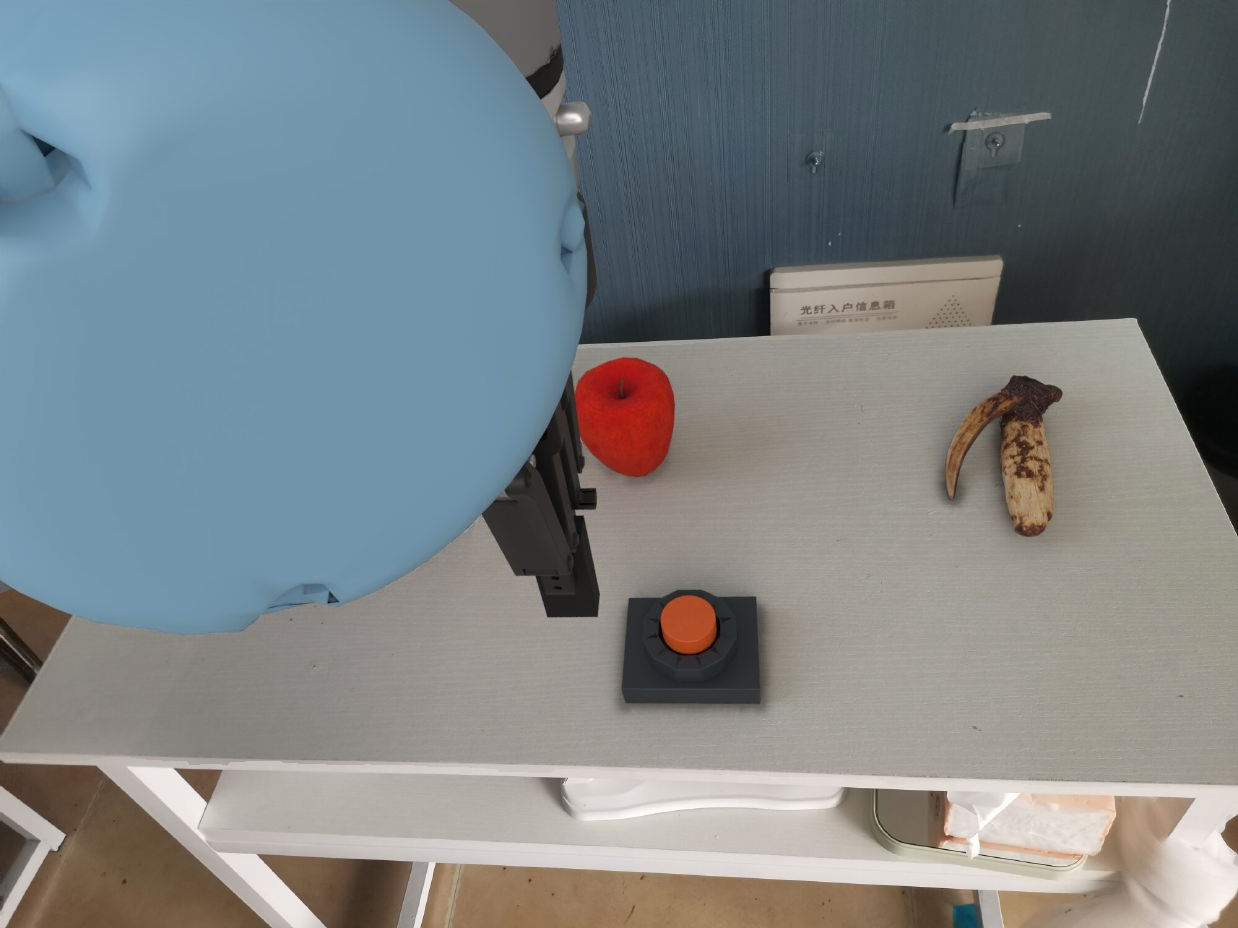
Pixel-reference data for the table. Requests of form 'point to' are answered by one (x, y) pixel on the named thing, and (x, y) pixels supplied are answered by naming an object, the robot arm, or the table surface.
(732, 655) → the switch block
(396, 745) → the table surface
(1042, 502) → the lashed bone hook
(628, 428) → the apple
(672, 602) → the light button
